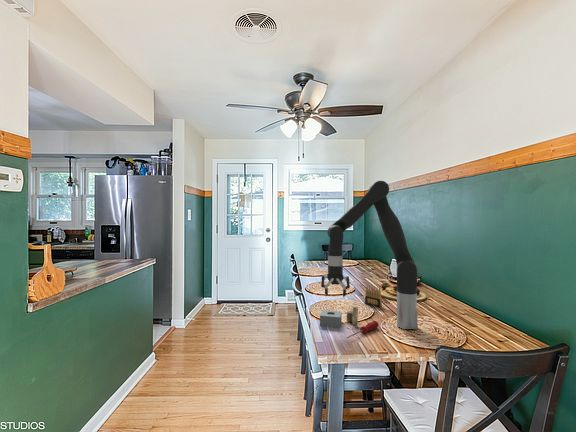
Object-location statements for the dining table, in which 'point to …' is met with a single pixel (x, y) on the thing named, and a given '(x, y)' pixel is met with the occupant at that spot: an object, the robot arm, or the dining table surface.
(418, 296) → the wooden plate with food
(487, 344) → the dining table surface
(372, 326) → the screwdriver
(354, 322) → the birch dowel
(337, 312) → the block
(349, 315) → the walnut stub
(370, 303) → the ammunition clip
